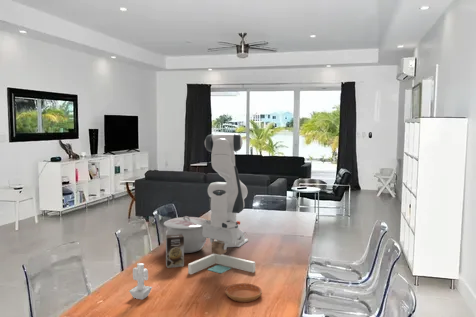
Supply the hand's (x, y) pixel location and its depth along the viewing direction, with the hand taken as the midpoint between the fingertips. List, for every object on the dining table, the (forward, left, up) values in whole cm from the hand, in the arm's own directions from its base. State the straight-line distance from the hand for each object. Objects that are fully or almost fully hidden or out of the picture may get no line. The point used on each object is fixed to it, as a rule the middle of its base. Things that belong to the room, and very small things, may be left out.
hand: (219, 248), depth 215 cm
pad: (0, 0, -11) cm, 11 cm away
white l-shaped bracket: (+3, +5, -11) cm, 13 cm away
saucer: (+20, +29, -12) cm, 37 cm away
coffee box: (+9, -23, -12) cm, 27 cm away
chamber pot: (-15, -36, -12) cm, 41 cm away
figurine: (+47, -7, -11) cm, 49 cm away
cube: (0, 0, -2) cm, 2 cm away
